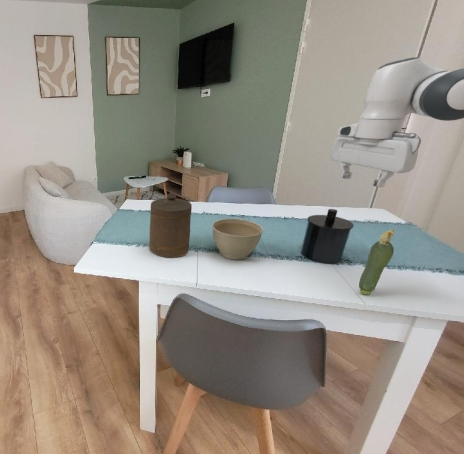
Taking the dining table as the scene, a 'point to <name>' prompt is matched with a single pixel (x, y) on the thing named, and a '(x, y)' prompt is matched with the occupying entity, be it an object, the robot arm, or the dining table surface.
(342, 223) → the bin lid
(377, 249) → the vegetable
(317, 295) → the dining table surface
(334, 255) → the trash can
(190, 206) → the wooden container
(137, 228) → the dining table surface
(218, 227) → the planter bowl
